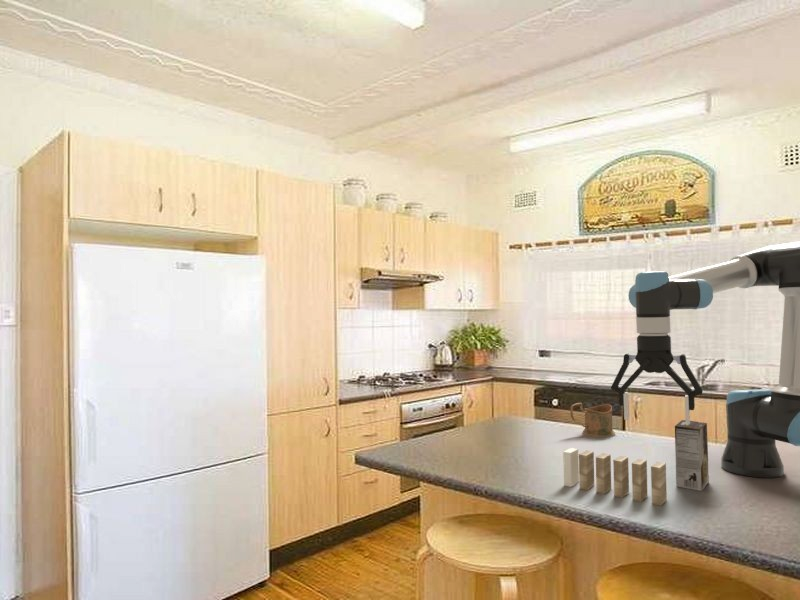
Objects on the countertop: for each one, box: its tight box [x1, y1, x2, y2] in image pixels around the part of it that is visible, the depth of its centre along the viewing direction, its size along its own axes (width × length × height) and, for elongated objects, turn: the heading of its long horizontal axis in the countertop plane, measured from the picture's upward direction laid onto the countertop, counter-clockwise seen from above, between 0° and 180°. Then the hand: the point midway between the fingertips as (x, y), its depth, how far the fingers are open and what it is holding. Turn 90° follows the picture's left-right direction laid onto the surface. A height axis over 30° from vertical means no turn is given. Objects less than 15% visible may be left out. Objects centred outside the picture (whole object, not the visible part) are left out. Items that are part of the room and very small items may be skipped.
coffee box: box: [674, 419, 710, 492], centre depth 146 cm, size 9×6×16 cm
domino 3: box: [595, 452, 612, 495], centre depth 142 cm, size 2×5×9 cm, turn 139°
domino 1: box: [562, 447, 579, 488], centre depth 148 cm, size 2×5×9 cm, turn 139°
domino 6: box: [650, 461, 668, 507], centre depth 133 cm, size 2×5×9 cm, turn 139°
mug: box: [569, 402, 616, 438], centre depth 204 cm, size 12×18×12 cm, turn 107°
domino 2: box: [578, 450, 595, 491], centre depth 145 cm, size 2×5×9 cm, turn 139°
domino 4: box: [612, 455, 630, 498], centre depth 139 cm, size 2×5×9 cm, turn 139°
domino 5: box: [631, 458, 648, 502], centre depth 136 cm, size 2×5×9 cm, turn 139°
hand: (656, 421), depth 134 cm, fingers open, 13 cm apart
